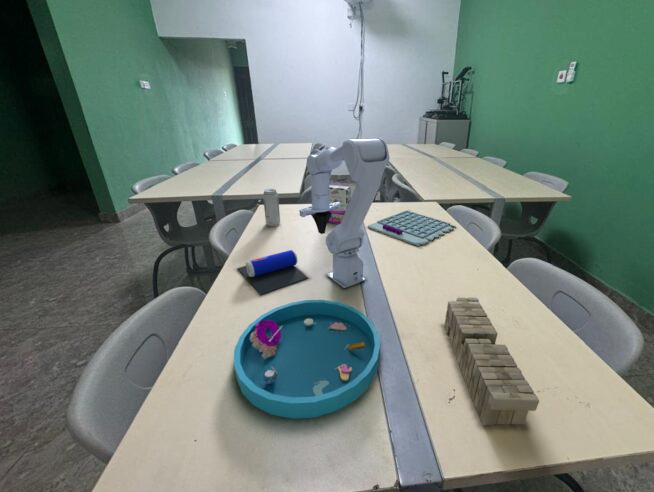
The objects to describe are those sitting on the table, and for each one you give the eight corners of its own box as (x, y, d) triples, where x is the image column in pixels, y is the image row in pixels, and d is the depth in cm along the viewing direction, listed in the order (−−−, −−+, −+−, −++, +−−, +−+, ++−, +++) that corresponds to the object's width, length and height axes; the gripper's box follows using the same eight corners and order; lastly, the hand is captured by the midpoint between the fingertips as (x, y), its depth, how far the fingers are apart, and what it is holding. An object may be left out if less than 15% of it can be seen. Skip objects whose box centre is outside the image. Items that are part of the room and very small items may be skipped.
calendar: (456, 228, 140) (457, 223, 139) (420, 247, 120) (421, 241, 119) (406, 213, 157) (406, 208, 156) (367, 227, 137) (367, 222, 136)
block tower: (442, 325, 81) (483, 433, 54) (446, 297, 77) (492, 397, 51) (472, 325, 81) (529, 433, 54) (477, 297, 78) (540, 397, 51)
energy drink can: (265, 222, 138) (261, 189, 132) (279, 220, 140) (276, 187, 134) (267, 227, 133) (263, 192, 127) (281, 225, 135) (278, 191, 129)
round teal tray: (270, 307, 84) (268, 288, 81) (383, 318, 81) (384, 298, 79) (205, 407, 56) (199, 383, 54) (371, 429, 54) (373, 405, 51)
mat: (308, 278, 97) (307, 277, 97) (260, 295, 88) (260, 293, 88) (281, 256, 110) (281, 255, 110) (238, 269, 101) (237, 268, 101)
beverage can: (294, 247, 102) (247, 259, 93) (299, 262, 101) (252, 275, 93) (290, 252, 106) (244, 263, 98) (294, 266, 105) (249, 279, 97)
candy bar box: (351, 222, 142) (351, 186, 135) (347, 226, 138) (347, 189, 131) (328, 218, 145) (327, 183, 138) (323, 222, 140) (322, 186, 134)
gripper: (332, 187, 107) (332, 224, 113) (293, 193, 98) (296, 233, 104) (344, 192, 102) (344, 230, 108) (305, 199, 94) (307, 241, 99)
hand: (321, 232), depth 106 cm, fingers closed
